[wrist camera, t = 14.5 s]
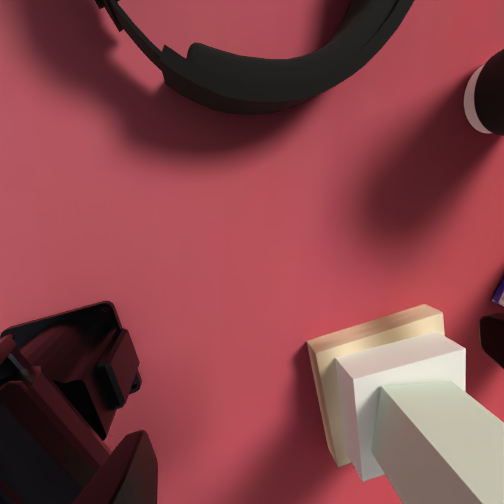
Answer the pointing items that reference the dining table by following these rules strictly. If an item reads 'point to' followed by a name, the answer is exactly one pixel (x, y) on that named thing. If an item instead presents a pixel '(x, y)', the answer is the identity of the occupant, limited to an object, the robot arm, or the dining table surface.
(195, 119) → the dining table surface
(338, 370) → the tower top slab
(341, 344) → the tower base slab
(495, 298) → the supplement box
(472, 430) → the tall block
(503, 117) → the dixie cup
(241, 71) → the headphones
